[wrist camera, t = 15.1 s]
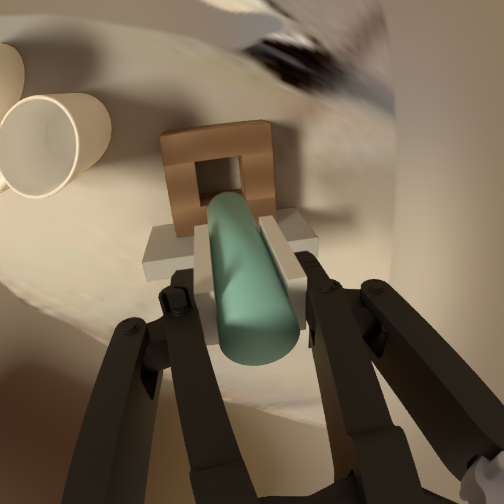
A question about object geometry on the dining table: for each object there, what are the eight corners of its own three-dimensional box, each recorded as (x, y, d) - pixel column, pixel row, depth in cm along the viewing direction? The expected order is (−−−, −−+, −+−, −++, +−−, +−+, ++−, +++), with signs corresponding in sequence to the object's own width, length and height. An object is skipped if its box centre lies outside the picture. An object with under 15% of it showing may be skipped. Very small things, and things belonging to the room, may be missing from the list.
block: (164, 132, 30) (159, 136, 26) (262, 119, 31) (270, 122, 27) (178, 222, 35) (176, 237, 31) (268, 209, 36) (276, 223, 32)
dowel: (204, 194, 22) (213, 312, 11) (247, 189, 22) (300, 299, 11) (209, 233, 23) (224, 370, 12) (250, 228, 24) (299, 358, 12)
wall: (152, 227, 34) (141, 262, 27) (294, 207, 36) (318, 237, 29) (156, 243, 35) (147, 281, 28) (295, 223, 37) (318, 256, 30)
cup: (127, 141, 30) (99, 161, 21) (46, 200, 31) (4, 239, 22) (90, 77, 26) (48, 73, 17) (11, 143, 27) (-41, 166, 18)
